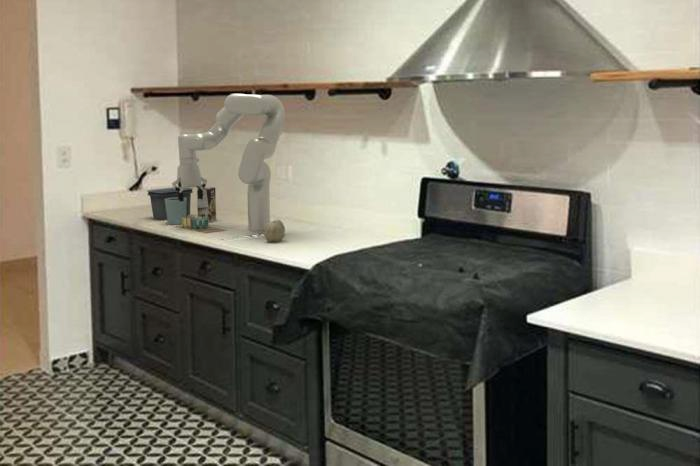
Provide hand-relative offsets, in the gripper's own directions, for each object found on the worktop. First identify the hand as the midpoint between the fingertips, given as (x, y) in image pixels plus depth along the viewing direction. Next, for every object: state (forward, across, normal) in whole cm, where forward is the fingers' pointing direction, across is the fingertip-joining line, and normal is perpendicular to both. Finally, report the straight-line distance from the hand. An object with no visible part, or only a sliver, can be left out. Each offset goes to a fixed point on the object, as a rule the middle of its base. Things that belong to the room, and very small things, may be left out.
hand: (190, 200), depth 367 cm
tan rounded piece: (+15, -8, +51) cm, 54 cm away
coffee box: (+13, -18, -17) cm, 28 cm away
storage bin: (+13, -11, -42) cm, 45 cm away
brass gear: (+12, 0, -1) cm, 12 cm away
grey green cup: (+13, -3, -21) cm, 25 cm away
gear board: (+14, +1, +8) cm, 16 cm away
